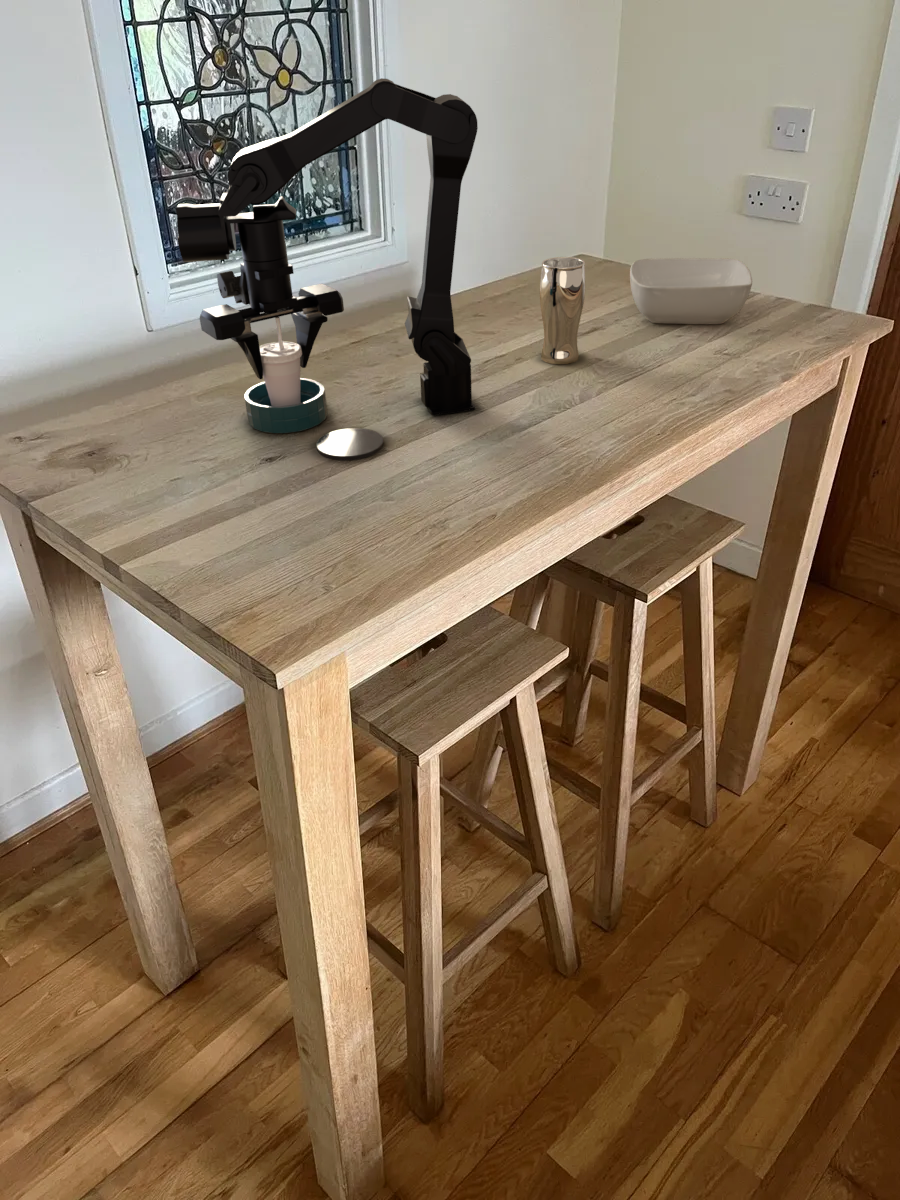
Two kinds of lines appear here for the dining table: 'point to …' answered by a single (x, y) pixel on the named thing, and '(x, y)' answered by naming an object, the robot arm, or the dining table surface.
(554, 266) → the beer glass
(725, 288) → the bowl
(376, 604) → the dining table surface
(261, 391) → the teal faceted dish
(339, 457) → the coaster
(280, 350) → the smoothie
